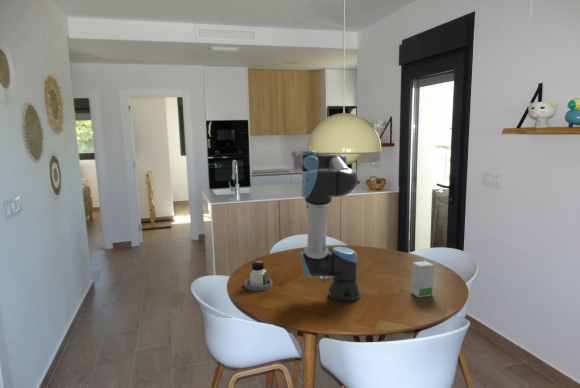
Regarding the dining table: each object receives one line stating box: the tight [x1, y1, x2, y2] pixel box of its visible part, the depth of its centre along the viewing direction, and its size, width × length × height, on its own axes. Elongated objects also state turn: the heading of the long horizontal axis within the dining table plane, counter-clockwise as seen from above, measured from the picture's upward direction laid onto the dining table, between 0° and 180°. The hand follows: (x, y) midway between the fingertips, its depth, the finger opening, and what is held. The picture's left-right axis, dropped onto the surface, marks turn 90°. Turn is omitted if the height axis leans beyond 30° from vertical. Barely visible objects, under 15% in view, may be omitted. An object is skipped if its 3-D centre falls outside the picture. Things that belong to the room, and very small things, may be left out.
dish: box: [244, 277, 273, 292], centre depth 209 cm, size 14×14×2 cm
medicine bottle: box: [249, 260, 268, 286], centre depth 208 cm, size 7×7×12 cm
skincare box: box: [410, 261, 435, 298], centre depth 194 cm, size 8×7×16 cm
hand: (309, 216), depth 225 cm, fingers open, 13 cm apart
